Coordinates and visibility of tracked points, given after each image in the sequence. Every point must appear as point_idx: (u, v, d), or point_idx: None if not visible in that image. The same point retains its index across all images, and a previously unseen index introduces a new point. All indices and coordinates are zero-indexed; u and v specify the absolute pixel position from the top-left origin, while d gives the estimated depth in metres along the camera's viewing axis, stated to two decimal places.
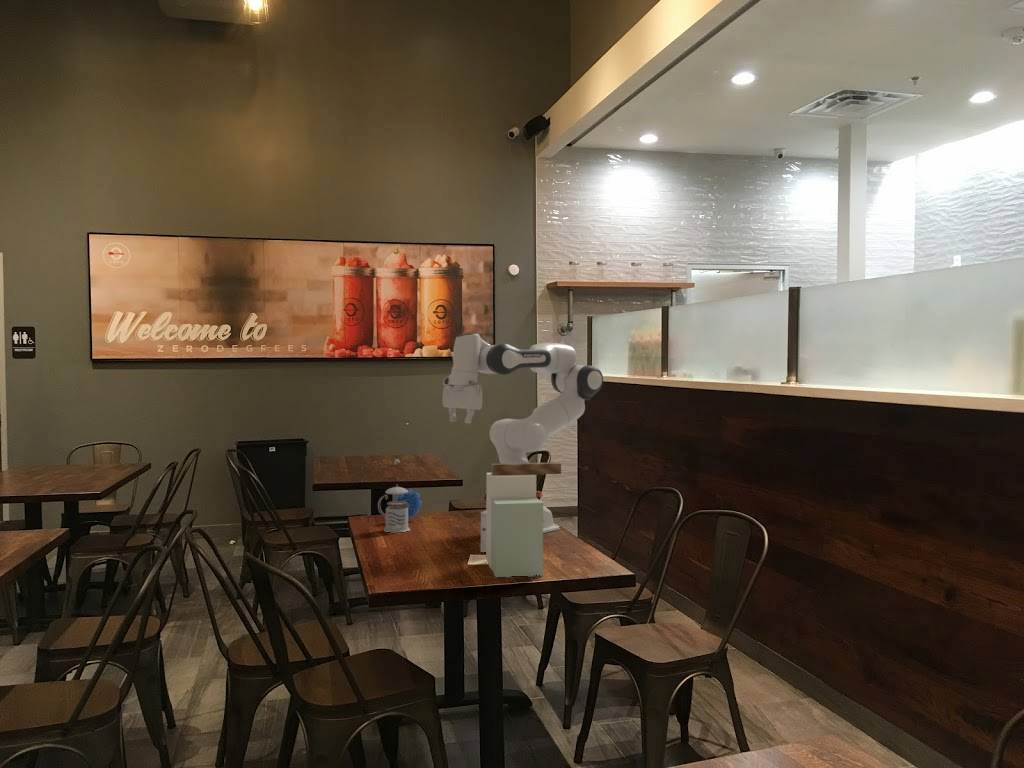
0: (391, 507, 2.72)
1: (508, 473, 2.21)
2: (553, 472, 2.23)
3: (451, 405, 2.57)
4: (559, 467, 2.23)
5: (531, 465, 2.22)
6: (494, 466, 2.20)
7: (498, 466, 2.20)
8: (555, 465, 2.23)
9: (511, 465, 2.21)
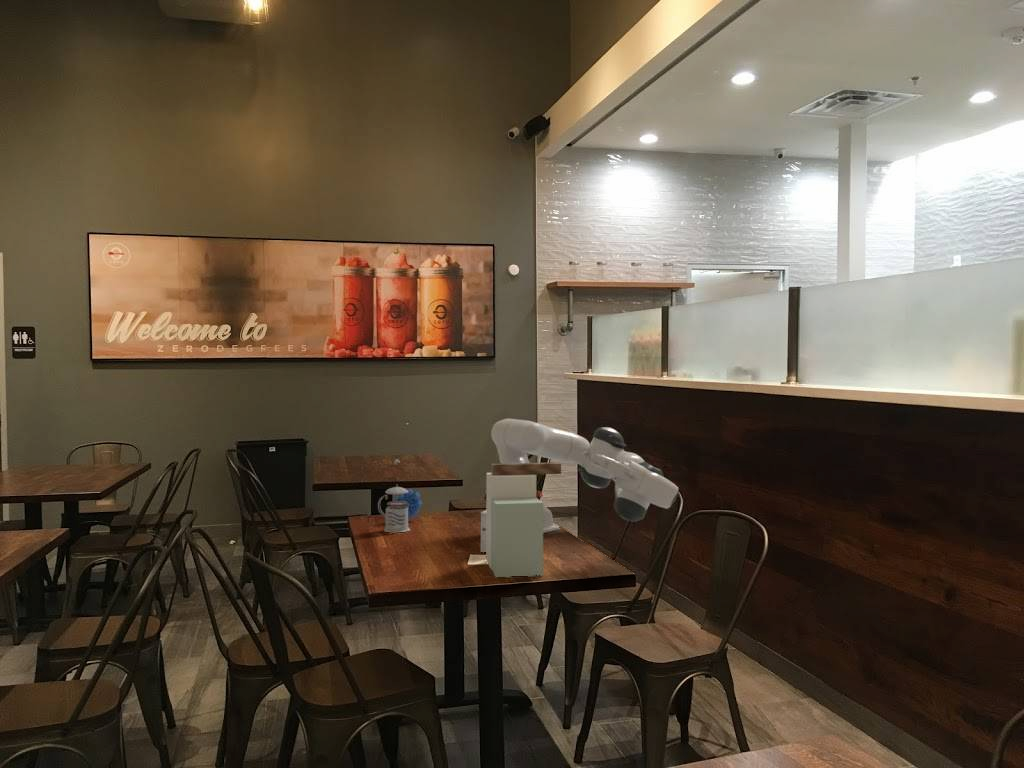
0: (391, 507, 2.72)
1: (508, 473, 2.21)
2: (553, 472, 2.23)
3: None
4: (559, 467, 2.23)
5: (531, 465, 2.22)
6: (494, 466, 2.20)
7: (498, 466, 2.20)
8: (555, 465, 2.23)
9: (511, 465, 2.21)
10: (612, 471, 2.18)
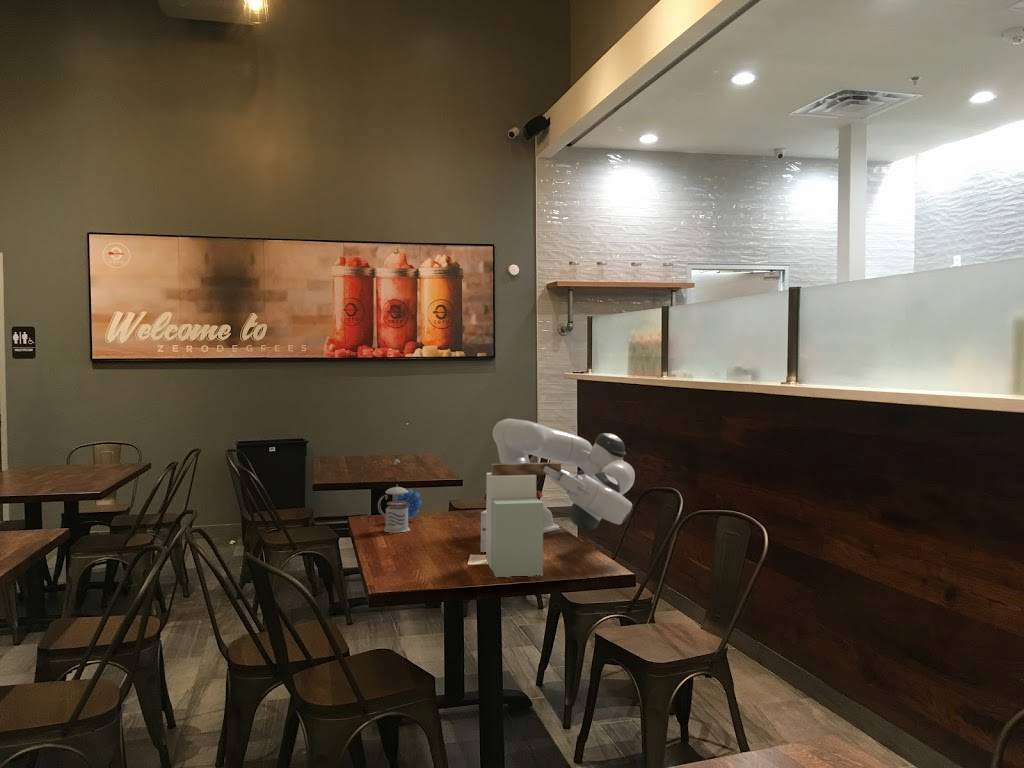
0: (391, 507, 2.72)
1: (508, 473, 2.21)
2: None
3: None
4: (559, 467, 2.23)
5: (531, 465, 2.22)
6: (494, 466, 2.20)
7: (498, 466, 2.20)
8: (555, 465, 2.23)
9: (511, 465, 2.21)
10: (565, 485, 2.15)
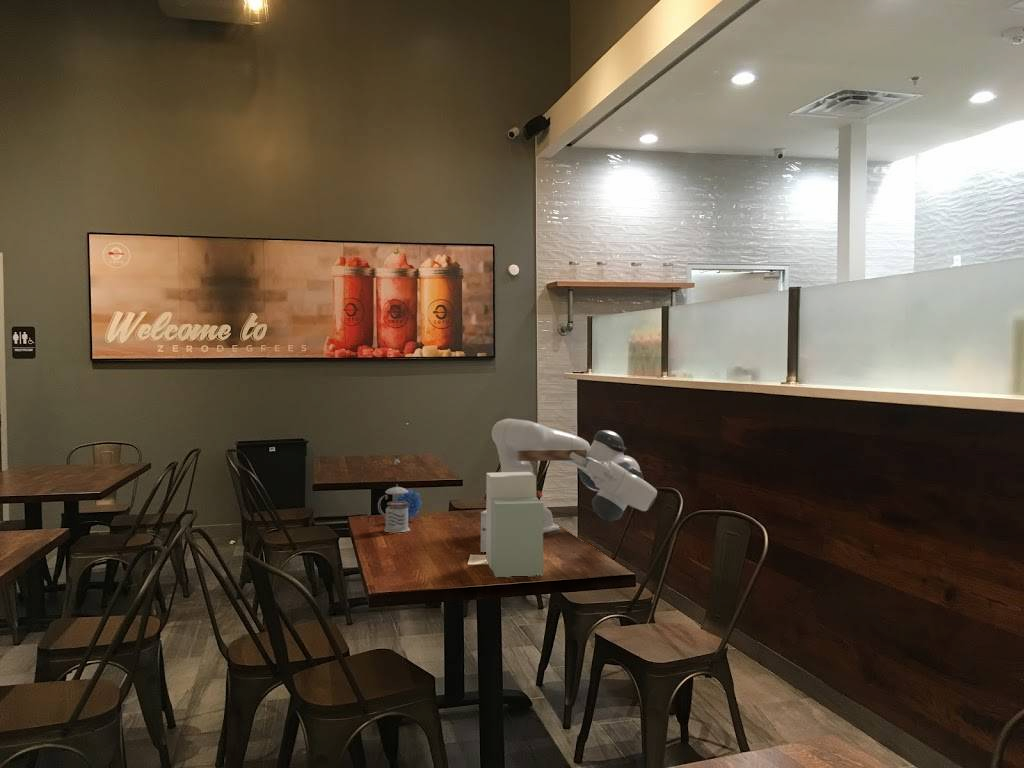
0: (391, 507, 2.72)
1: (534, 459, 2.21)
2: None
3: None
4: (585, 453, 2.24)
5: (557, 451, 2.22)
6: (521, 452, 2.21)
7: (525, 452, 2.21)
8: (581, 451, 2.24)
9: (537, 451, 2.22)
10: (592, 471, 2.15)
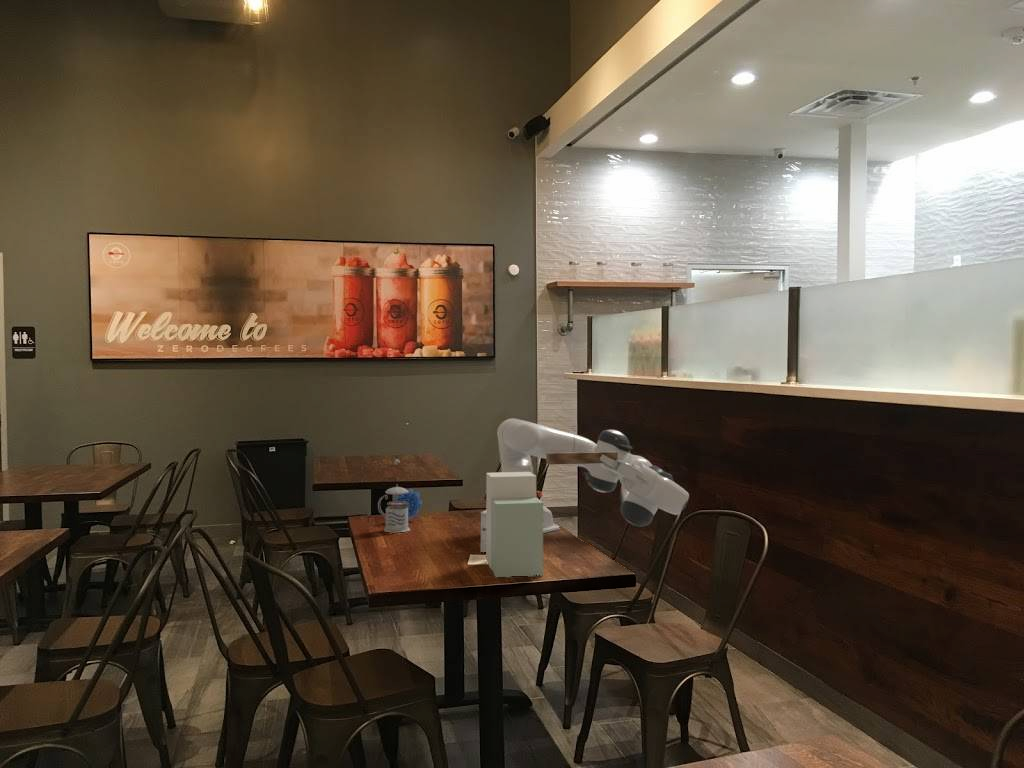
0: (391, 507, 2.72)
1: (564, 462, 2.15)
2: None
3: None
4: (616, 456, 2.17)
5: (587, 454, 2.16)
6: (550, 455, 2.14)
7: (554, 455, 2.14)
8: (612, 454, 2.17)
9: (567, 454, 2.15)
10: (624, 474, 2.09)
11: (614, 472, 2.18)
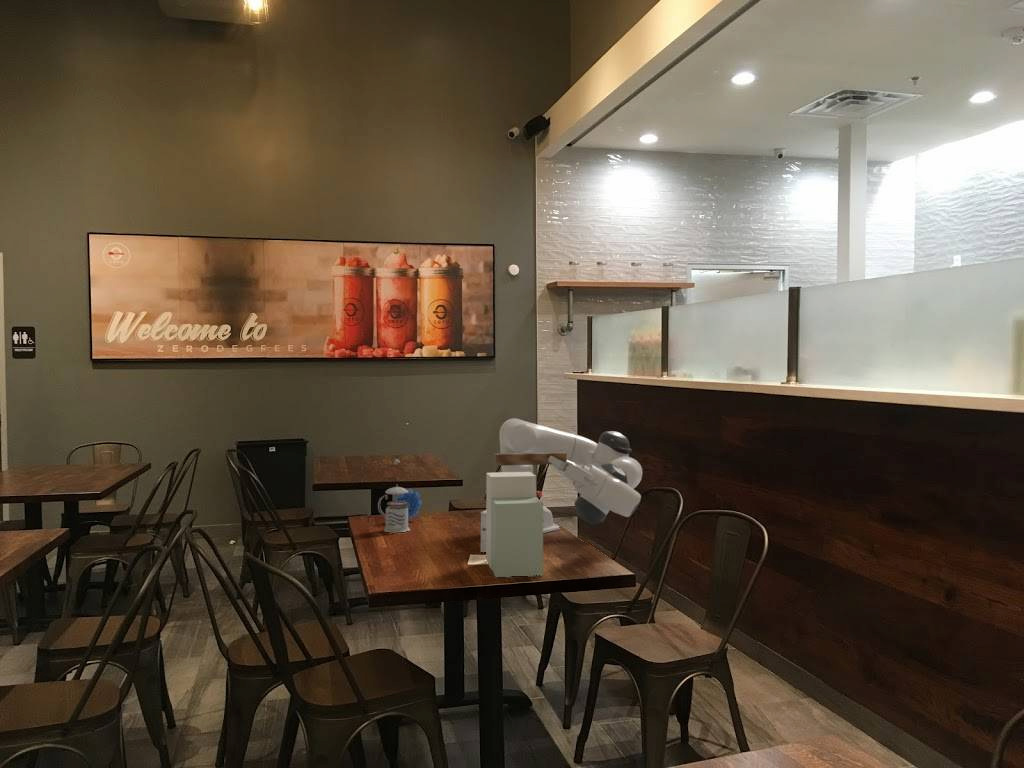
0: (391, 507, 2.72)
1: (511, 463, 2.11)
2: None
3: None
4: (565, 457, 2.14)
5: (535, 455, 2.12)
6: (497, 456, 2.10)
7: (501, 456, 2.11)
8: (560, 455, 2.13)
9: (514, 455, 2.11)
10: (571, 475, 2.05)
11: None
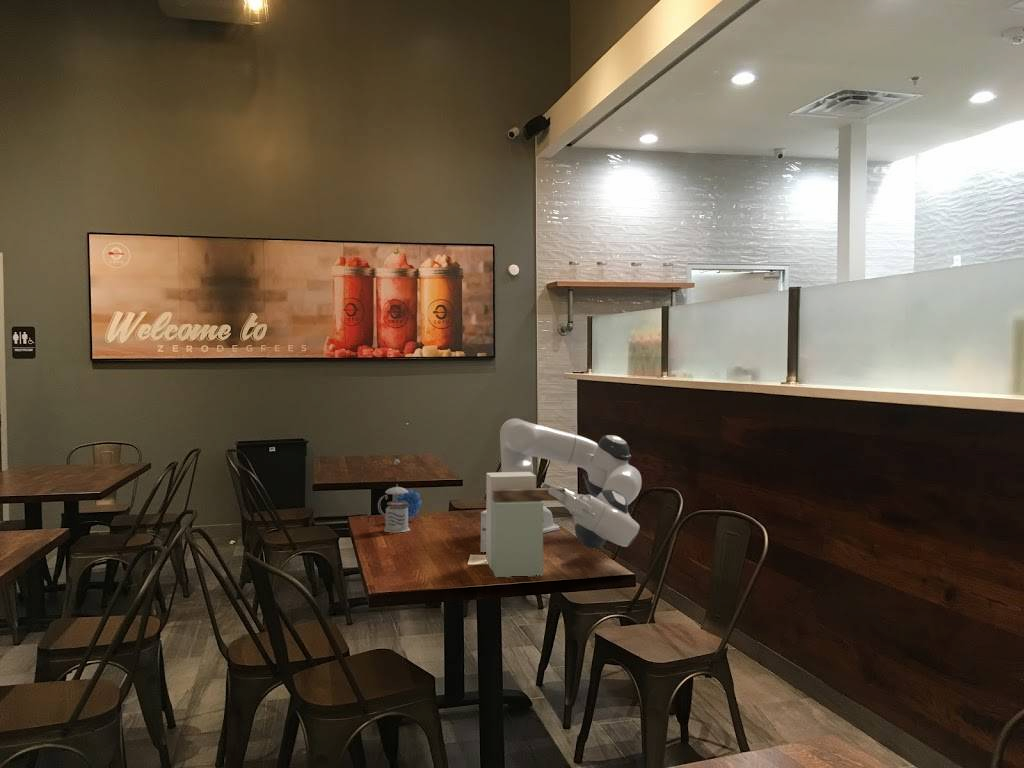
0: (391, 507, 2.72)
1: (510, 499, 2.11)
2: None
3: None
4: (563, 493, 2.14)
5: (534, 491, 2.12)
6: (495, 492, 2.11)
7: (500, 492, 2.11)
8: (559, 491, 2.14)
9: (513, 491, 2.11)
10: (569, 507, 2.05)
11: None
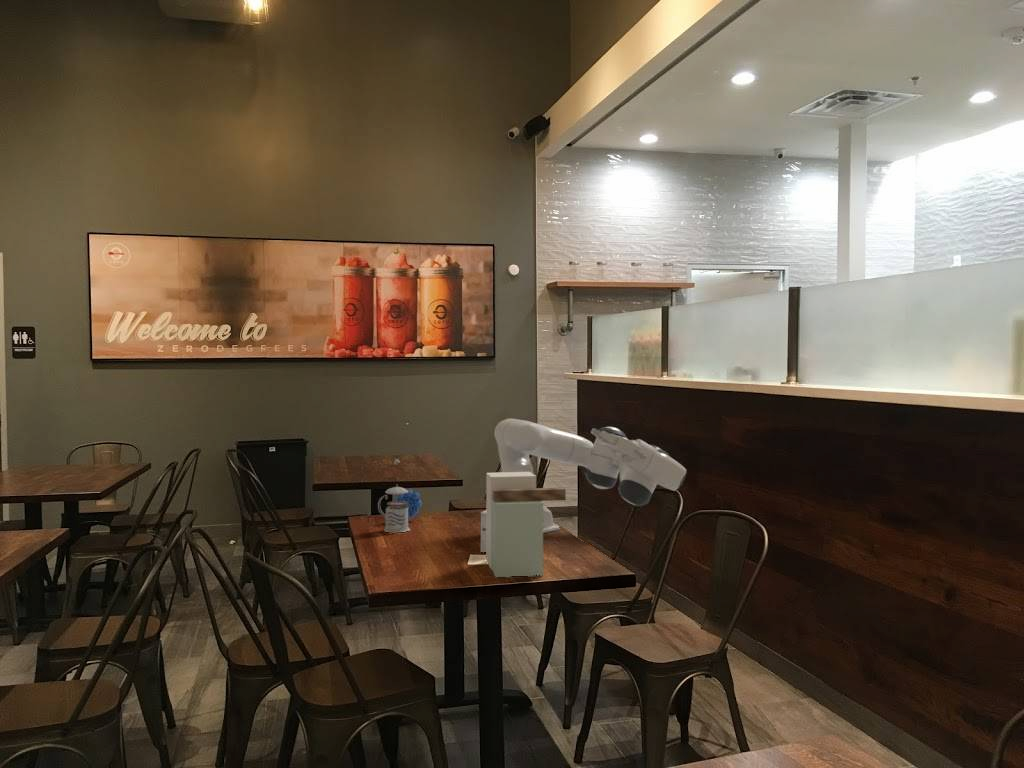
0: (391, 507, 2.72)
1: (510, 499, 2.11)
2: (557, 498, 2.13)
3: None
4: (563, 493, 2.14)
5: (534, 491, 2.12)
6: (495, 492, 2.11)
7: (500, 492, 2.11)
8: (559, 491, 2.14)
9: (513, 491, 2.11)
10: (622, 448, 2.13)
11: (612, 448, 2.22)
